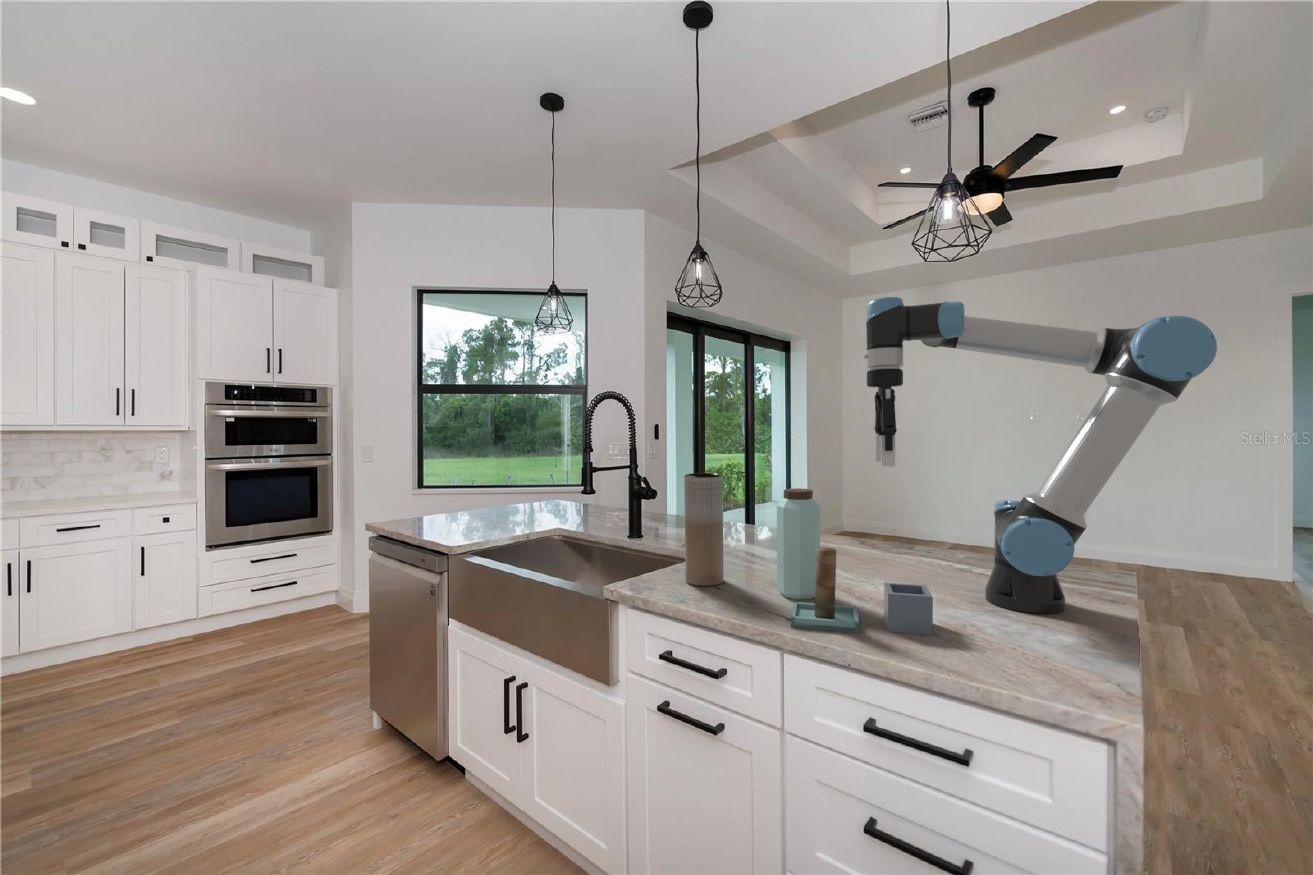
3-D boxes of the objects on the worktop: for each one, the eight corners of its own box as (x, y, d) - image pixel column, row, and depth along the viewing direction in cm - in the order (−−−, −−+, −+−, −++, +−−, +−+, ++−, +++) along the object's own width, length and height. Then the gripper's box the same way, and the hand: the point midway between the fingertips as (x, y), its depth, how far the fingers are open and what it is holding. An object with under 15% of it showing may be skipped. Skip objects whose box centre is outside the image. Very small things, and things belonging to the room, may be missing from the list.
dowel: (834, 614, 119) (836, 548, 119) (834, 620, 116) (836, 552, 115) (814, 612, 121) (816, 546, 120) (814, 618, 117) (815, 550, 116)
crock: (925, 621, 118) (925, 585, 117) (932, 635, 110) (932, 596, 110) (884, 617, 120) (884, 582, 120) (888, 631, 112) (888, 593, 112)
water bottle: (822, 601, 131) (821, 493, 130) (777, 599, 133) (776, 492, 132) (818, 589, 140) (818, 487, 140) (777, 587, 142) (776, 487, 142)
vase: (682, 576, 153) (681, 473, 152) (719, 575, 154) (718, 472, 153) (688, 587, 143) (687, 477, 142) (727, 586, 144) (726, 476, 143)
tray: (856, 616, 121) (856, 606, 121) (859, 633, 111) (859, 623, 111) (793, 610, 125) (793, 601, 125) (790, 627, 115) (790, 617, 115)
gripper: (863, 373, 140) (863, 459, 141) (871, 364, 116) (871, 468, 117) (895, 372, 138) (895, 459, 139) (911, 363, 114) (911, 468, 115)
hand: (884, 463), depth 128 cm, fingers open, 13 cm apart
